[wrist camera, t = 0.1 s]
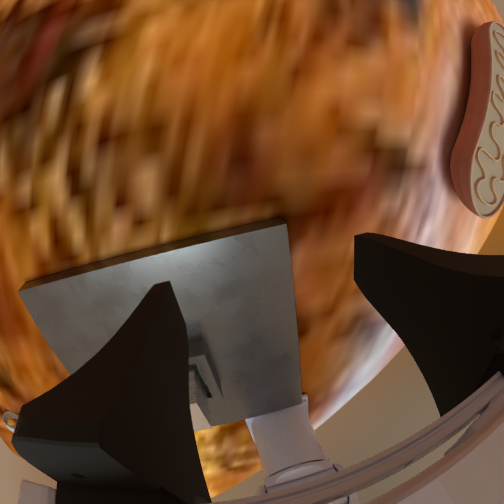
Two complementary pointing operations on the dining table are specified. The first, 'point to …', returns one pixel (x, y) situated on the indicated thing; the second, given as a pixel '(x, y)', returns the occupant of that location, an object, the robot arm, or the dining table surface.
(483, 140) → the brown rounded block
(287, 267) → the stand
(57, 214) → the dining table surface
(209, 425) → the grey block
